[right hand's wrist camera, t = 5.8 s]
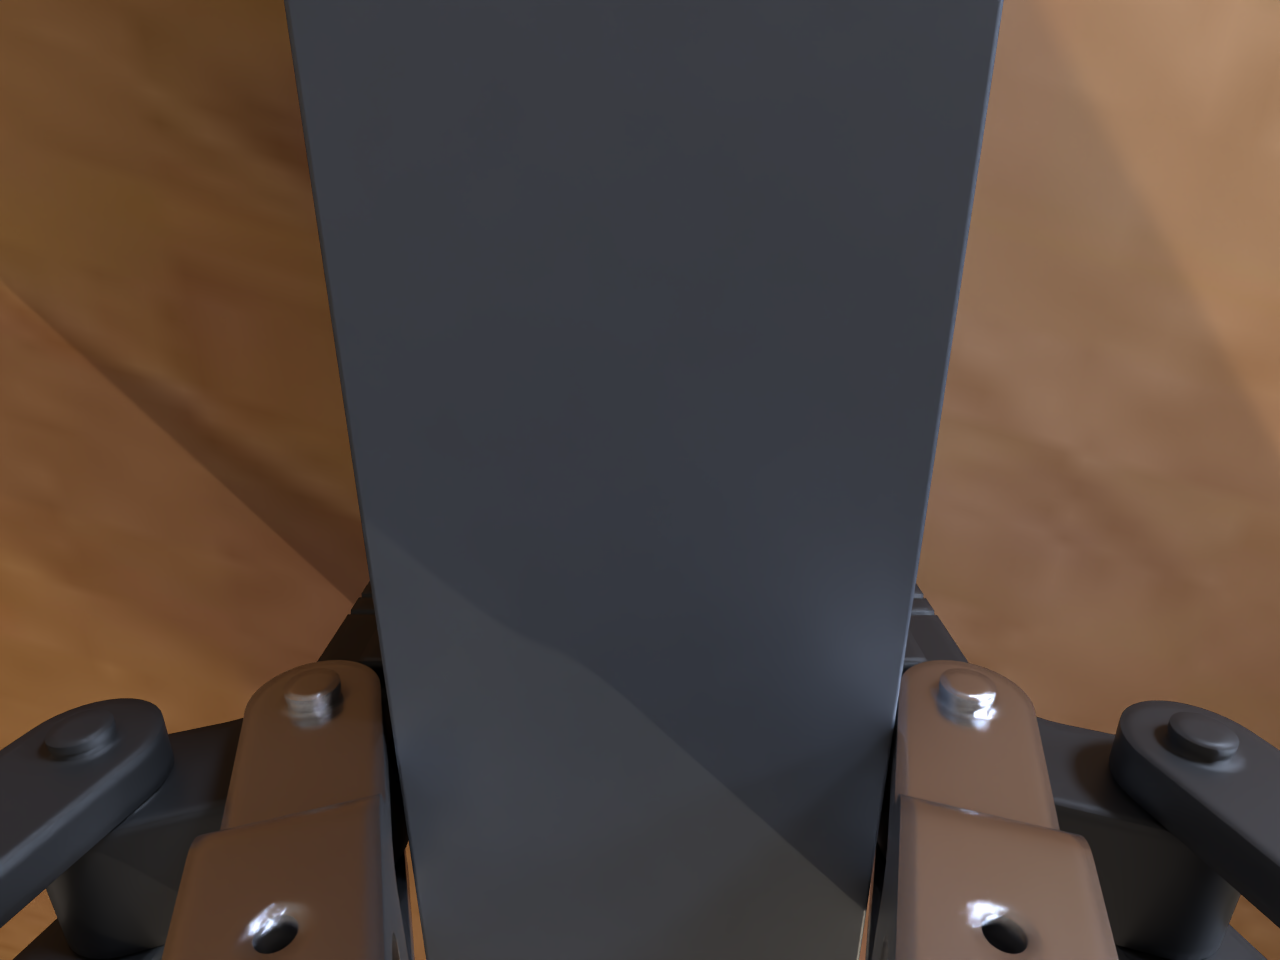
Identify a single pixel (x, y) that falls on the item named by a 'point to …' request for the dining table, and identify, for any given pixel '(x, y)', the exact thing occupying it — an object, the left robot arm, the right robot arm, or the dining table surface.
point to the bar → (643, 440)
